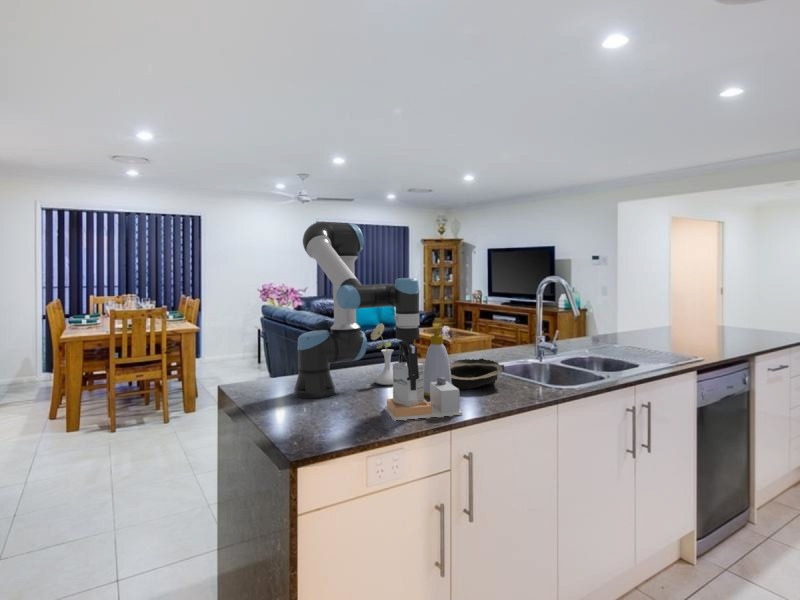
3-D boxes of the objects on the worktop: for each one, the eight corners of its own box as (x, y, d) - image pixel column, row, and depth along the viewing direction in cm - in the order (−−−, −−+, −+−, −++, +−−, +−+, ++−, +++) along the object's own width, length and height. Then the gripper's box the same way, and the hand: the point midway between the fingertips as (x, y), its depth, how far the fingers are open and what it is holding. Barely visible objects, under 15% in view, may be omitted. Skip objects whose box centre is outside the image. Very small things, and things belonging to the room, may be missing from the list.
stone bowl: (500, 378, 199) (500, 356, 197) (507, 398, 174) (508, 374, 173) (441, 377, 201) (441, 355, 200) (440, 397, 177) (440, 372, 175)
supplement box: (392, 402, 152) (391, 363, 151) (408, 398, 157) (407, 360, 157) (408, 407, 147) (408, 366, 146) (424, 402, 152) (424, 363, 151)
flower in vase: (390, 379, 201) (389, 320, 199) (407, 384, 192) (406, 322, 190) (365, 384, 193) (363, 323, 191) (381, 389, 184) (380, 325, 182)
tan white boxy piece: (393, 421, 144) (393, 388, 143) (384, 408, 158) (384, 378, 157) (462, 415, 149) (461, 383, 148) (447, 403, 163) (447, 374, 162)
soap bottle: (420, 397, 170) (419, 325, 169) (423, 390, 182) (422, 321, 180) (452, 398, 169) (451, 325, 167) (453, 390, 180) (452, 321, 179)
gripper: (388, 323, 161) (389, 388, 162) (404, 331, 139) (405, 406, 140) (410, 322, 162) (411, 386, 164) (428, 330, 141) (429, 404, 142)
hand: (408, 395), depth 152 cm, fingers closed on supplement box, 10 cm apart
